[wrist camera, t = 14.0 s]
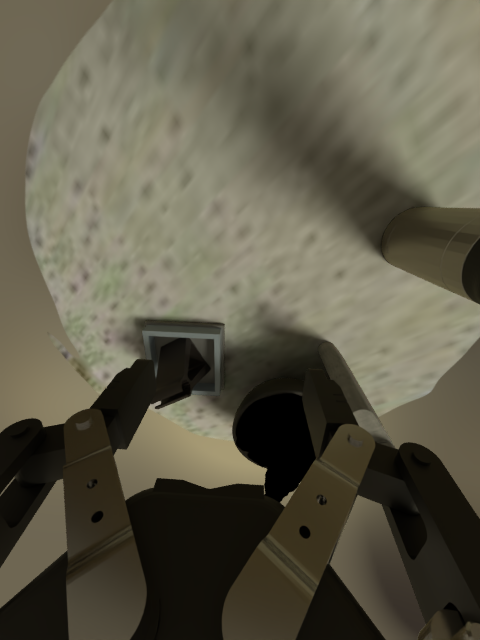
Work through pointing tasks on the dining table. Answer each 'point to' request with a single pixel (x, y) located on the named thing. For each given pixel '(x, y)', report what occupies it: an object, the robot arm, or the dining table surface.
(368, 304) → the dining table surface
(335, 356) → the hip flask
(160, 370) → the phone stand
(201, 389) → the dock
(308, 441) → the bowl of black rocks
